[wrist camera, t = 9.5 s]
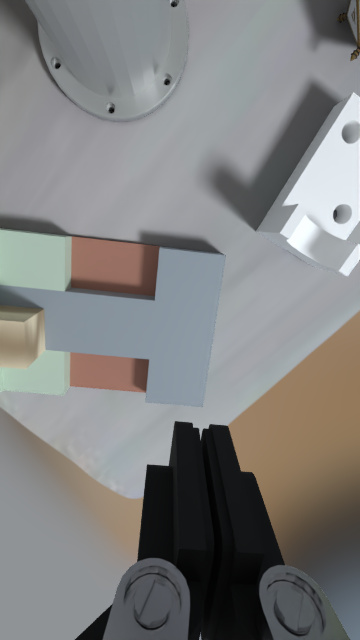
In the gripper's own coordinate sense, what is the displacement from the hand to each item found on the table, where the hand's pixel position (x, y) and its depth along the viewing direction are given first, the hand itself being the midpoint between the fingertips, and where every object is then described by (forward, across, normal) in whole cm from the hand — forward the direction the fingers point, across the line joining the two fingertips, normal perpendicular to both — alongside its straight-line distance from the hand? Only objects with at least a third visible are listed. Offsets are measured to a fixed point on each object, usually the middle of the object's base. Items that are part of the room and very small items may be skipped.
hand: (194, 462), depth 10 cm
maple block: (+22, +16, +5) cm, 28 cm away
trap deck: (+25, +7, +4) cm, 26 cm away
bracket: (+25, -13, -12) cm, 31 cm away
